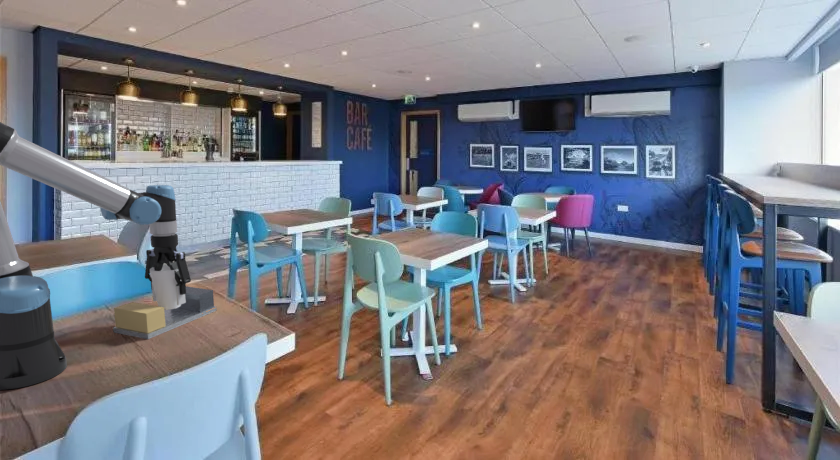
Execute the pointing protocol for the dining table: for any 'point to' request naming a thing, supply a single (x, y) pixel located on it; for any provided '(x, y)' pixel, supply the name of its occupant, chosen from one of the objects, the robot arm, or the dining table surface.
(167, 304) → the foam cup
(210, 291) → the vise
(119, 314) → the block
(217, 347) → the dining table surface
